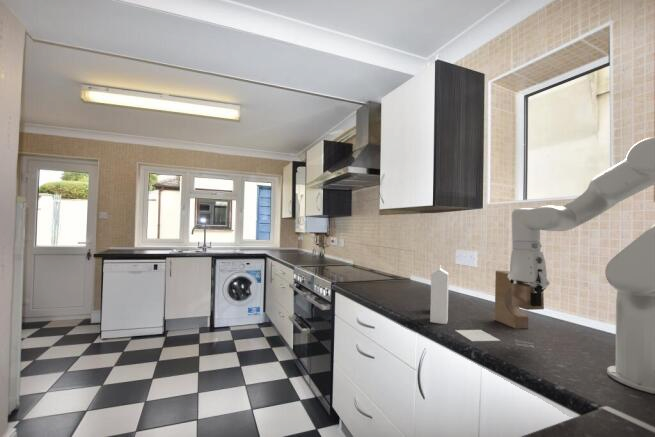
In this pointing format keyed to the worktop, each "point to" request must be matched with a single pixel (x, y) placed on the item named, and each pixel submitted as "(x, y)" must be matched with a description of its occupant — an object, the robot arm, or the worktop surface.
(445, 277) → the milk
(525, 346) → the tile
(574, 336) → the worktop surface
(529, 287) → the walnut block
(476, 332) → the grey mat
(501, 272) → the decorative block
